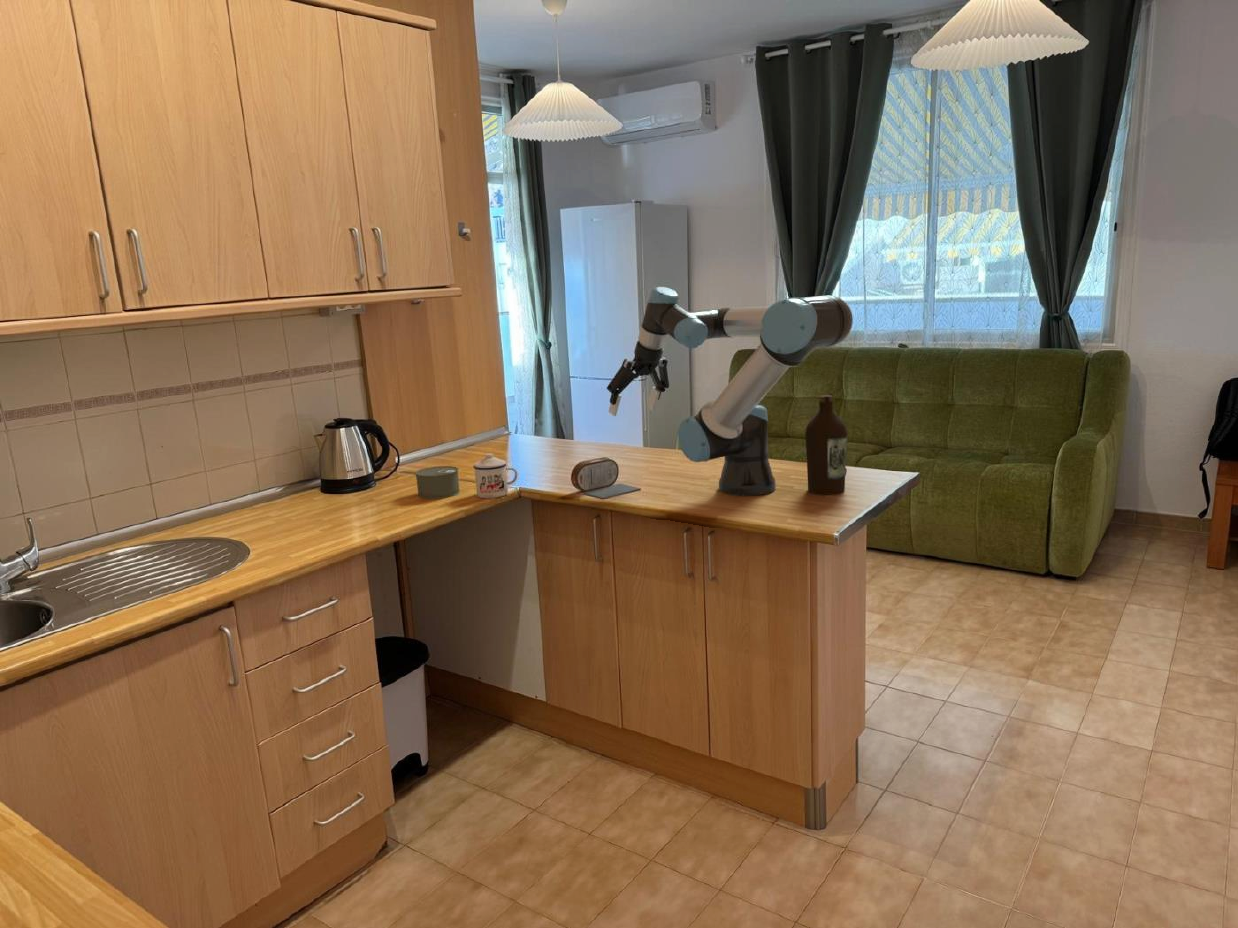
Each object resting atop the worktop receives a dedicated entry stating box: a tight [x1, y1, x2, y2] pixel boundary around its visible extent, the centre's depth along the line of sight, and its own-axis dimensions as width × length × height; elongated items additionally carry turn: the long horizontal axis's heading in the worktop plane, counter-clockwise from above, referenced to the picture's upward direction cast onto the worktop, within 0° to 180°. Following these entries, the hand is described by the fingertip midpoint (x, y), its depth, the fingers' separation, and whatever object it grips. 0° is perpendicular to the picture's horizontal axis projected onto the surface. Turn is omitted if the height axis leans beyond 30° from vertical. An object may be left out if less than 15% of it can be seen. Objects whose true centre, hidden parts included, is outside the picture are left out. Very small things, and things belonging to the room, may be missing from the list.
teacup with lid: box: [473, 453, 519, 499], centre depth 243 cm, size 12×9×12 cm
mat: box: [583, 483, 642, 500], centre depth 240 cm, size 9×13×1 cm
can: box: [415, 465, 461, 500], centre depth 248 cm, size 12×12×7 cm
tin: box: [570, 456, 620, 492], centre depth 243 cm, size 15×3×8 cm, turn 127°
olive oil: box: [804, 394, 848, 495], centre depth 226 cm, size 11×11×25 cm
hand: (631, 411), depth 245 cm, fingers open, 13 cm apart
